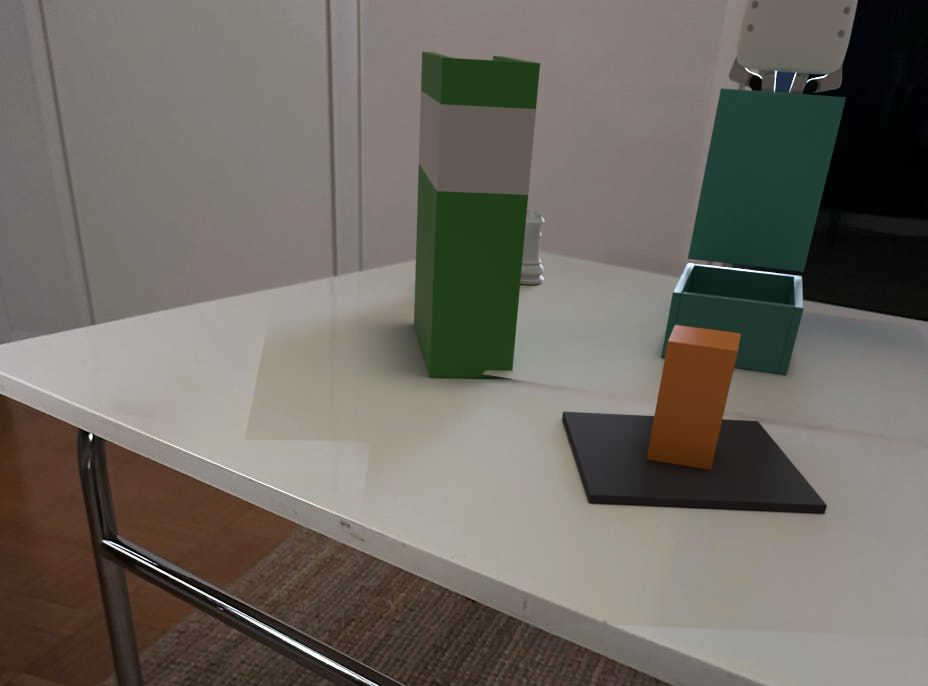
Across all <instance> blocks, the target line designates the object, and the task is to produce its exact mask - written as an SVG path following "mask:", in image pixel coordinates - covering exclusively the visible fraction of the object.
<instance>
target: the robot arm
mask: <svg viewBox="0 0 928 686" xmlns="http://www.w3.org/2000/svg"><path fill="white" fill-rule="evenodd" d="M858 1H859V0H747V1H746V4H745V9H744V13H743V17H742V21H741V27H740V29H739V30H740V31H739V36H738V40H737V47H736V57H735V59H734V61H733V64H732V66H731V68H730V71H729V73H728V79H729V80H730V81H731V82H733V83H736V84H738V85H741V86H744V87H747V88H749V89H751V91H765V92H776V78H777V72H781V73H793V74H794V73H795V74H794V77H793V80H792V82H791V86H790V88H789V91H788V93H792V94H806V95H814V94H816V93H821V92H827V91H832V90H838V89H839V88H841V86H842V83H843V63H844V60H845V57H846V54H847V51H848V47H849V44H850V40H851V35H852V30H853V26H854V21H855V16H856V12H857V5H858ZM748 69H749V70H748ZM750 70H756V71H762V76H761V75H759V74H757V73H754V72H752V71H750ZM810 75H823V76H819V77H815V78H811V79H809V76H810Z"/></svg>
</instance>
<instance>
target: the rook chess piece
mask: <svg viewBox="0 0 928 686" xmlns="http://www.w3.org/2000/svg"><path fill="white" fill-rule="evenodd" d="M543 214H544V212H542V211H538V210H533V211H532V213H531V210H530V209H527V215H526V226H525V237H524V248H523V259H522V270H521V281H520V285H523V286H537V285H540V284H542V282H543V281H544V277H543V276H542V275H543V274H544V273H545V269H544V266H543V265H542V260H541V256H540V239H541V237H542V233H541V228H542V227H543V225H544V224H545V223H546V222H545V219H544V217H543Z"/></svg>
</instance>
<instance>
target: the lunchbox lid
mask: <svg viewBox="0 0 928 686" xmlns="http://www.w3.org/2000/svg"><path fill="white" fill-rule="evenodd" d="M846 99H847V98H846V97H845V96H834V95H833V96H831V95H819V94H818V95H817V94H812V95H806V94H792V93H789V92H778V91H774V92H765V91H752V89H751V90H750V89H749V90H748V89H747V90H746V89H737V88H724V87H722V88H720V91H719V96H718V101H717V105H716V110H715V115H714V122H713V127H712V131H711V137H710V142H709V147H708V153H707V157H706V162H705V167H704V173H703V178H702V184H701V189H700V194H699V198H698V204H697V208H696V213H695V220H694V223H693V230H692V235H691V240H690V245H689V249H688V250H689V251H688V255H687V259H688V260H695V261H703V262H712V263H721V264H730V265H738V266H748V267H754V268H755V267H756V268H763V269H764V268H765V269H774V270H781V271H789V272H800V273H803V272H805V267H806V264H807V260H808V255H809V251H810V246H811V243H812V238H813V234H814V231H815V227H816V226H815V225H816V222H817V218H818V215H819V209H820V206H821V202H822V197H823V194H824V189H825V185H826V181H827V177H828V172H829V169H830V164H831V160H832V158H833V157H832V156H833V153H834V148H835V144H836V140H837V137H838V131H839V127H840V124H841V120H842V116H843V112H844V107H845V103H846Z"/></svg>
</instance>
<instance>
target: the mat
mask: <svg viewBox="0 0 928 686" xmlns="http://www.w3.org/2000/svg"><path fill="white" fill-rule="evenodd" d="M561 419H562V421H563V425H564V428H565V431H566V434H567V437H568V441H569V444H570V446H571V449H572V452H573V456H574V459H575V462H576V465H577V468H578V471H579V472H578V473H579V475H580V478H581V481H582V483H583V484H582V485H583V487H584V490H585V493H586V496H587V500H588V502H589V503H590V504H592V503H593V504H613V505H614V504H615V505H634V506H635V505H637V506H658V507H660V506H661V507H677V508H678V507H680V508H681V507H682V508H703V509H704V508H705V509H725V510H746V511H747V510H748V511H767V512H768V511H771V512H775V511H776V512H791V513H793V512H794V513H815V514H818V513H819V514H826V511H827V509H828V504H827V503H826V501H824V499H822V497H821V496H820V495H819V494H818V492H817V491H816V490H815V489H814V488H813V486H812V485H811V484H810V483H809V481H808V480H807V479H806V478H805V477H804V475H803V474H802V473H801V471H800V470H799V468H797V467H796V466H795V464H794V463H793V462H792V461H791V459H790V458H789V457H788V455H787V454H786V453H785V452H784V451H783V449H781V447H780V446H779V445H778V444H777V442H776V441H775V440H774V438H773V437H772V436H771V435H770V434H769V433H768V431H767V430H766V429H765V428H764V427H763V425H762V424H761V423H760V422H759V421H758V420H747V419H745V420H744V419H724V418H723V419H722V423H721V428H720V432H719V437H718V441H717V445H716V450H715V454H714V459H713V463H712V468H711V470H707V469H701V468H695V467H689V466H683V465H677V464H671V463H665V462H658V461H652V460H647V453H648V448H649V443H650V437H651V432H652V426H653V421H654V415H643V414H625V413H624V414H622V413H621V414H620V413H602V412H581V411H580V412H579V411H562V416H561Z"/></svg>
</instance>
